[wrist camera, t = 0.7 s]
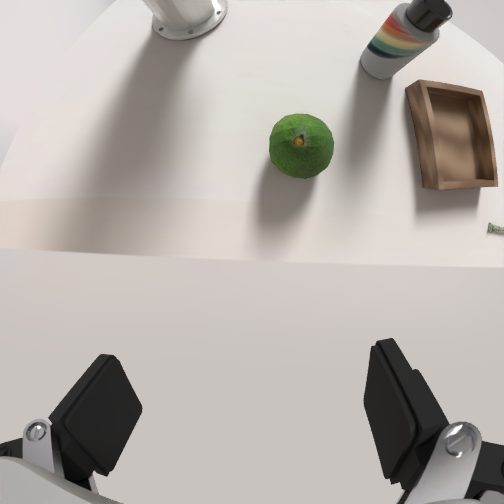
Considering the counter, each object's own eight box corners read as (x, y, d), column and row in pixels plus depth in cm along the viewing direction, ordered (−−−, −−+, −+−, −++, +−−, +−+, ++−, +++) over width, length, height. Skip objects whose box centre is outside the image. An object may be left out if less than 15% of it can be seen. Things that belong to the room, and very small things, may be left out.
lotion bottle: (384, 48, 29) (443, -14, 10) (398, 78, 30) (470, 28, 11) (354, 50, 30) (402, -22, 11) (368, 82, 31) (432, 21, 12)
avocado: (265, 126, 35) (261, 103, 23) (321, 121, 34) (341, 97, 22) (273, 181, 37) (272, 182, 25) (329, 176, 36) (353, 176, 24)
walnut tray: (405, 88, 31) (419, 79, 26) (466, 96, 29) (482, 90, 24) (422, 187, 35) (439, 189, 30) (481, 184, 33) (498, 186, 28)
